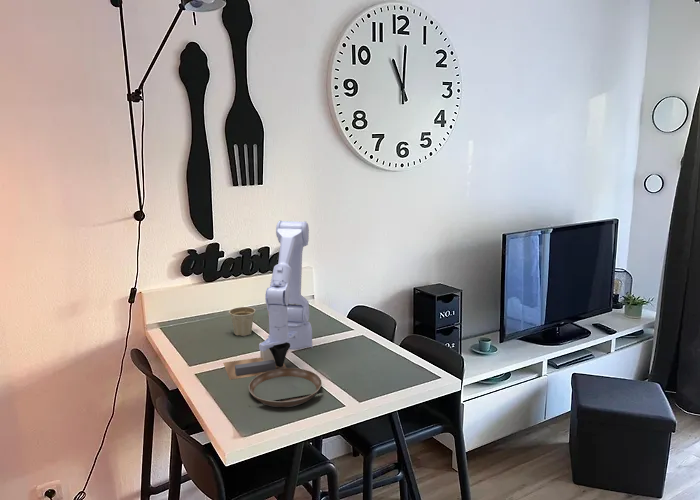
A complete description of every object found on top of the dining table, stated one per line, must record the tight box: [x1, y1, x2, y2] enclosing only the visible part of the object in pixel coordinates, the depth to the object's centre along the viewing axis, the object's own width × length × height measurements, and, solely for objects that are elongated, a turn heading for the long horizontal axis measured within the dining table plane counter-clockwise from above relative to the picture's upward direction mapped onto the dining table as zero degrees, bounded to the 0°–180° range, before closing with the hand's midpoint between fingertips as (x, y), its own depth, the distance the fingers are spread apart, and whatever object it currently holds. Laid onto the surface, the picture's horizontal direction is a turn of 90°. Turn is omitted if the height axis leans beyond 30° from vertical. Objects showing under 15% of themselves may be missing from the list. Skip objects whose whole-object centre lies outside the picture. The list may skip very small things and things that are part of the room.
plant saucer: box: [248, 367, 322, 408], centre depth 160 cm, size 21×21×3 cm
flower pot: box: [228, 306, 256, 337], centre depth 205 cm, size 9×9×9 cm
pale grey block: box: [259, 342, 275, 361], centre depth 180 cm, size 4×5×5 cm
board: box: [222, 356, 288, 381], centre depth 175 cm, size 18×13×1 cm
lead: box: [235, 360, 276, 376], centre depth 171 cm, size 12×3×2 cm, turn 110°
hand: (279, 365), depth 174 cm, fingers closed
